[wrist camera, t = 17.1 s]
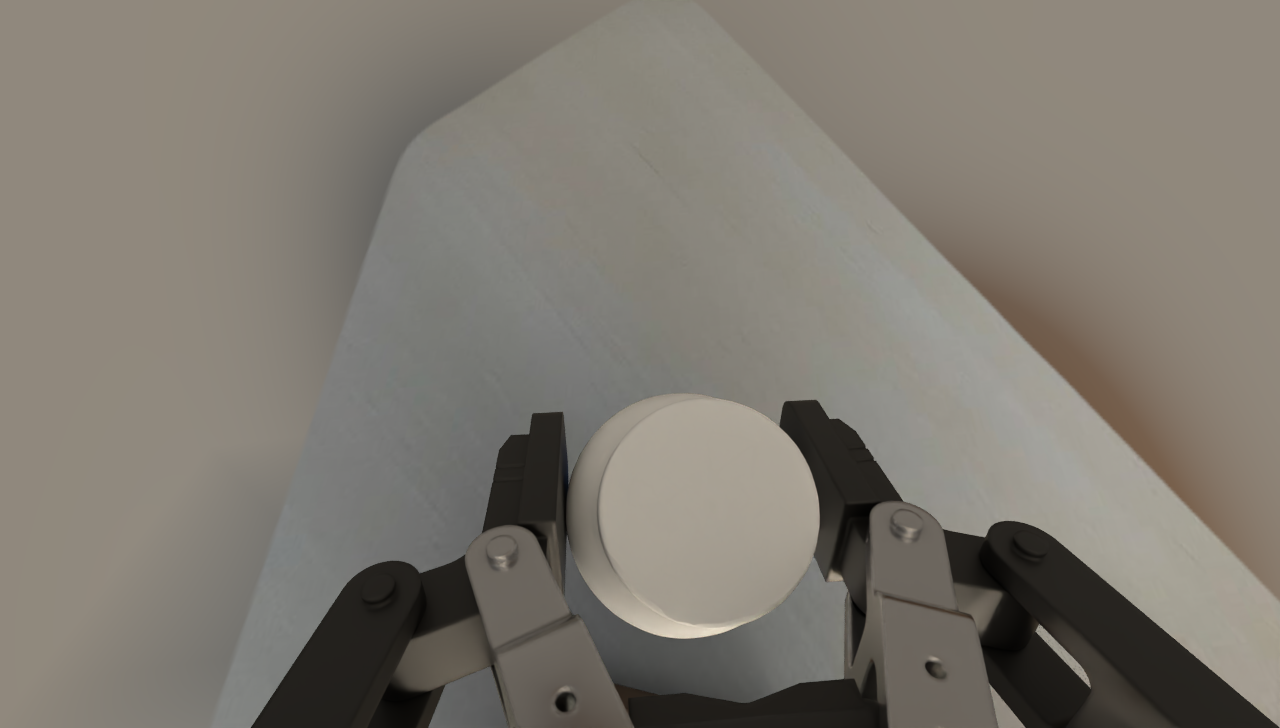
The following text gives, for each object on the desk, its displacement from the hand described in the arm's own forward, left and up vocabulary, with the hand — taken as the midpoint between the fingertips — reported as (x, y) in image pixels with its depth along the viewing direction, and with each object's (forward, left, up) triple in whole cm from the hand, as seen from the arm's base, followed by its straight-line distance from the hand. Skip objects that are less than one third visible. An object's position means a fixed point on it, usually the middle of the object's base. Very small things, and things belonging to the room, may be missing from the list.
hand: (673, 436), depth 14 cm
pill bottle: (+1, -2, -6) cm, 6 cm away
